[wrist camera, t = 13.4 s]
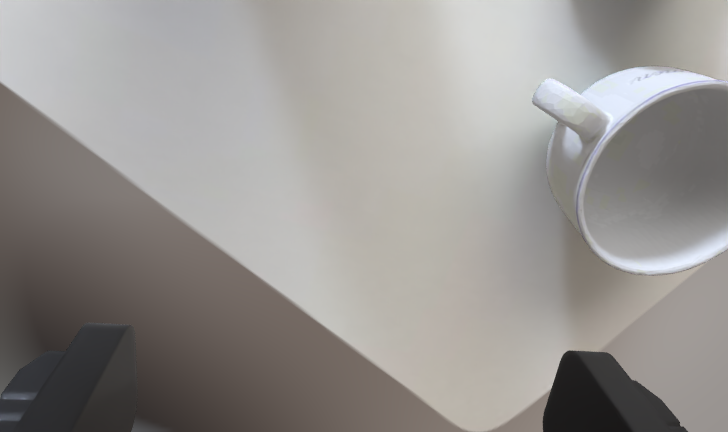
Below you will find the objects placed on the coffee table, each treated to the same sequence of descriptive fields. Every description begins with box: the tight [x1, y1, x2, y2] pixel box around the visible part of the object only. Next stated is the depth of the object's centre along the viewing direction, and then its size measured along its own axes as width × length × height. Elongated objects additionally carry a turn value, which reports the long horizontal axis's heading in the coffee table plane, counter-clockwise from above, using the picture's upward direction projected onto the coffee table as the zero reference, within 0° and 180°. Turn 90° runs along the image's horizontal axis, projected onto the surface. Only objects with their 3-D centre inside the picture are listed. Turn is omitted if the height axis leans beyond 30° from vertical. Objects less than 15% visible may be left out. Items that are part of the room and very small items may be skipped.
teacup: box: [532, 66, 728, 276], centre depth 31 cm, size 14×11×8 cm
